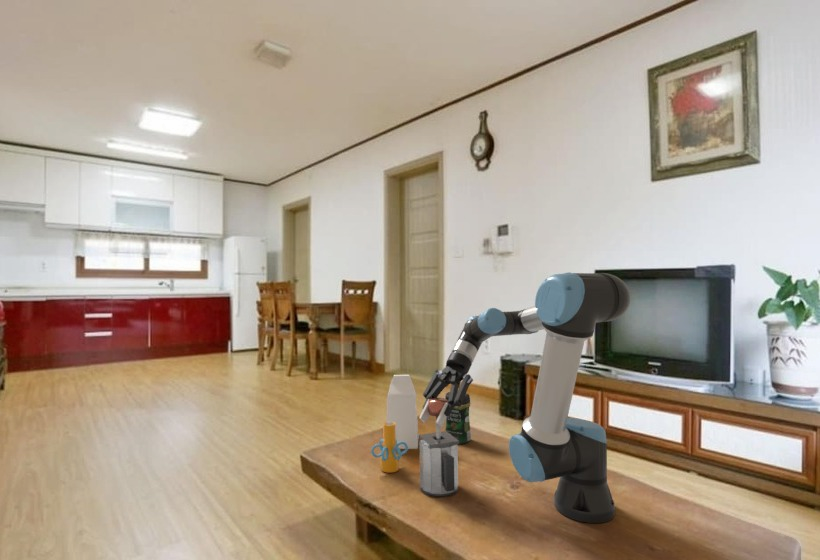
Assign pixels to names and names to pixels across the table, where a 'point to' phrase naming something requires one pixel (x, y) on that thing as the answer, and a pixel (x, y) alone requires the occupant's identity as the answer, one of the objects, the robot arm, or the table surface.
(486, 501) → the table surface
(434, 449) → the press carafe
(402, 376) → the milk
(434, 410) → the plunger
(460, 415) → the coffee jar
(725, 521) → the table surface
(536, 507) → the table surface
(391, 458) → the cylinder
